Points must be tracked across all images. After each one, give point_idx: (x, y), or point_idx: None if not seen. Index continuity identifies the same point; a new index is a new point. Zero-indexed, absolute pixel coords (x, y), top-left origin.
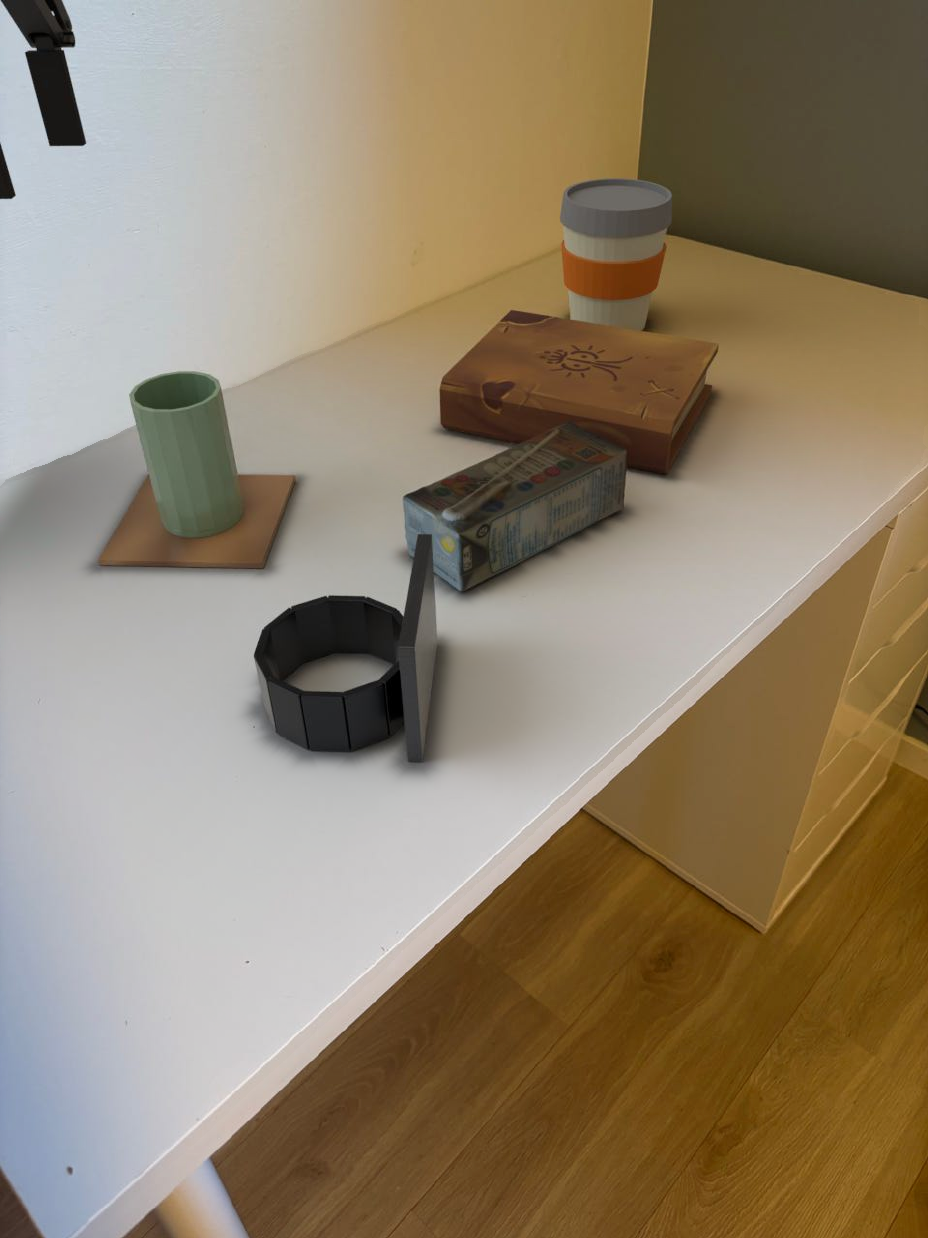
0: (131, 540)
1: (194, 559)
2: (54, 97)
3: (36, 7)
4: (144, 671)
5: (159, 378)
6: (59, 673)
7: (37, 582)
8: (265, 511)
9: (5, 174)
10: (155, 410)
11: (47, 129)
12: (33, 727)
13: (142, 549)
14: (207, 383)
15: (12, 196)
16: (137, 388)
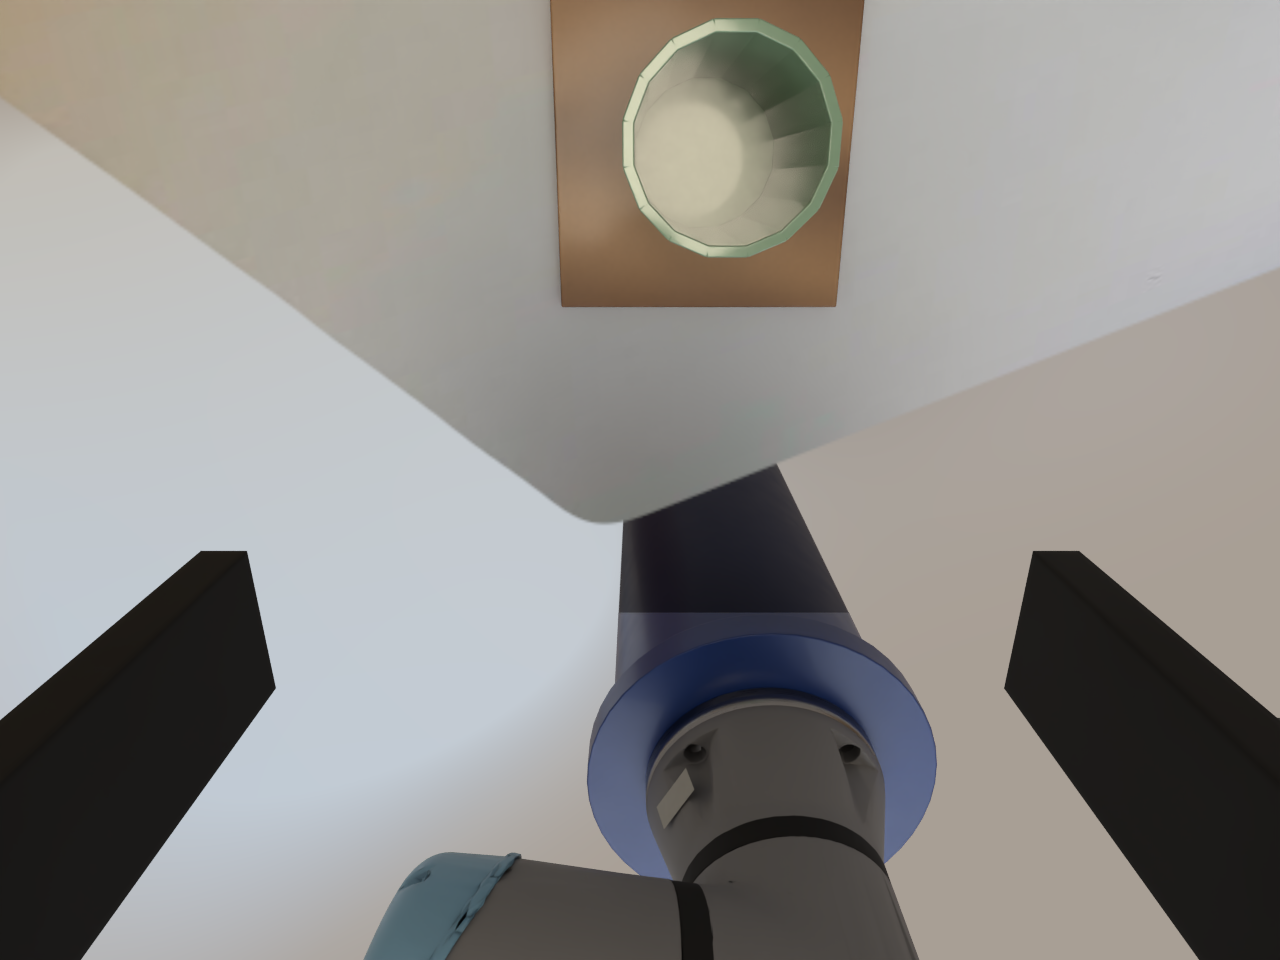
0: (783, 266)
1: (845, 130)
2: (136, 764)
3: None
4: (1117, 136)
5: (656, 211)
6: (1098, 271)
7: (871, 387)
8: (691, 23)
9: (1127, 597)
10: (834, 163)
11: (239, 725)
12: (1208, 265)
13: (811, 237)
14: (649, 84)
15: (1067, 553)
16: (719, 246)
